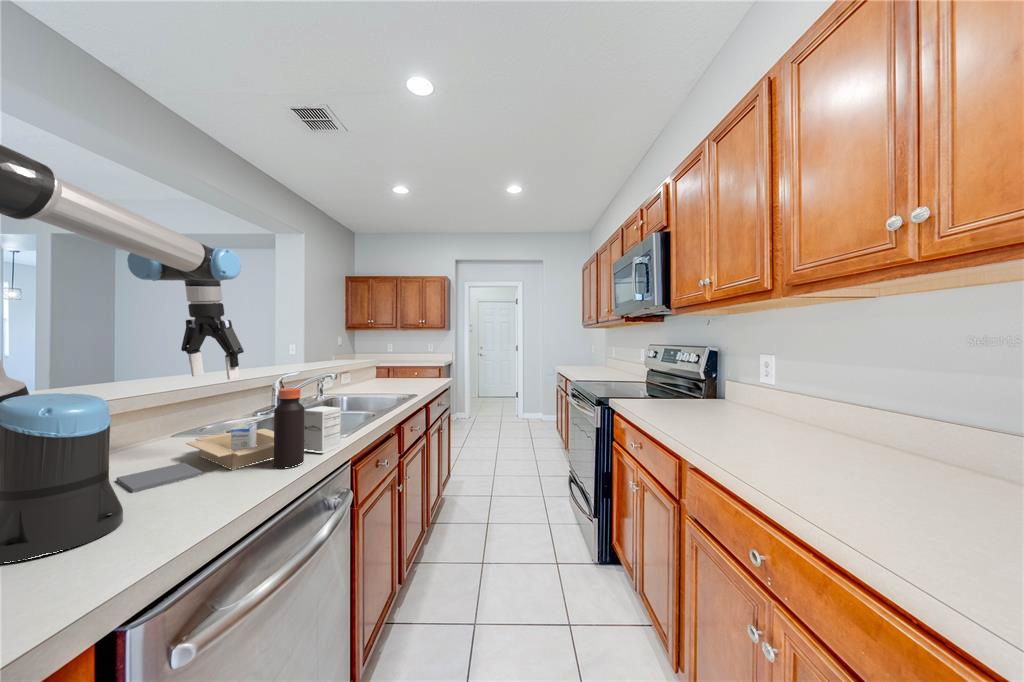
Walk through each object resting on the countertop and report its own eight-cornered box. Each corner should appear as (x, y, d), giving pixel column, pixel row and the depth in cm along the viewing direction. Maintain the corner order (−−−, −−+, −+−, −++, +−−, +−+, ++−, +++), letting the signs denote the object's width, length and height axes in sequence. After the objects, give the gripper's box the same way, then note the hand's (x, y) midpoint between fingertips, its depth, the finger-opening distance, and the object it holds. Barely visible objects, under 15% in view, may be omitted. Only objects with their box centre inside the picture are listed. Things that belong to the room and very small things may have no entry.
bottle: (309, 461, 98) (310, 388, 98) (291, 470, 91) (292, 391, 91) (286, 460, 99) (287, 387, 99) (267, 468, 92) (267, 390, 92)
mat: (202, 475, 87) (202, 471, 87) (132, 492, 77) (132, 488, 77) (183, 465, 94) (183, 462, 94) (116, 480, 83) (116, 477, 83)
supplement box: (301, 452, 105) (302, 409, 105) (321, 445, 113) (322, 405, 113) (321, 455, 103) (322, 411, 103) (341, 447, 110) (341, 406, 110)
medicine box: (238, 453, 104) (238, 423, 104) (256, 451, 106) (256, 422, 106) (230, 461, 97) (230, 429, 97) (250, 459, 99) (250, 428, 99)
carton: (304, 454, 103) (304, 439, 103) (223, 476, 87) (223, 457, 87) (259, 440, 117) (259, 427, 117) (181, 457, 100) (181, 441, 100)
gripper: (253, 302, 100) (261, 376, 103) (188, 301, 107) (197, 371, 110) (226, 303, 93) (235, 383, 96) (157, 302, 99) (169, 377, 103)
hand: (215, 377), depth 103 cm, fingers open, 13 cm apart
